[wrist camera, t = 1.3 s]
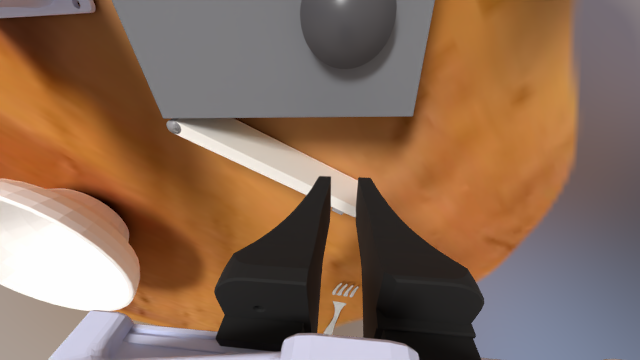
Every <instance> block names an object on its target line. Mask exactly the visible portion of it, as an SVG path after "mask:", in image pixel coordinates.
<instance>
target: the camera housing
mask: <svg viewBox="0 0 640 360" xmlns="http://www.w3.org/2000/svg"><path fill="white" fill-rule="evenodd" d="M112 2H113V4H114V7H115V9H116V11H117V14H118V16H119V18H120V20H121V23H122V25H123V27H124V30H125V32H126V34H127V37H128V39H129V41H130V43H131V46H132V48H133V50H134V53H135V55H136V57H137V59H138V62H139V64H140V66H141V69H142V71H143V73H144V76H145V78H146V80H147V82H148V85H149V87H150V89H151V92H152V94H153V96H154V98H155V101H156V103H157V105H158V108H159V110H160V112H161V114H162V117H163V118H273V117H391V116H413V113H414V107H415V102H416V97H417V91H418V86H419V81H420V76H421V70H422V65H423V60H424V54H425V49H426V44H427V39H428V33H429V28H430V23H431V17H432V12H433V7H434V2H435V0H112Z"/></svg>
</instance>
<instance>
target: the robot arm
mask: <svg viewBox="0 0 640 360" xmlns="http://www.w3.org/2000/svg"><path fill="white" fill-rule="evenodd" d="M78 2H79V3H80V6H81V7H80V6H79V5H78ZM93 12H95V4H94V2H93V0H0V18H13V17H30V16H47V15H64V14H81V13H93ZM330 209H331V176H319V177H318V178H317V180H316V182H315V184H314V185H313V187H312V188H311V190H310V191H309V193H308V194H307V195H306V197H305V198H304V199H303V201H302V202H301V203H300V204H299V205H298V206H297V208H296V209H295V210H294V211H293V212H292V213H291V214H290V215H289V216H288V217H287V218H286V219H285V220H284V221H282V222H281V223H280V224H279V225H278V226H277V227H275V228H274V229H273V230H272V231H270V232H269V233H267V234H266V235H264V236H263V237H262V238H260V239H259V240H257V241H255V242H254V243H252V244H250V245H249V246H247V247H245V248H243V249H241V250H240V251H238V252H236V253H234V254H233V256H232V257H231V259H230V260H229V262H228V263H227V265H226V267H225V268H224V270H223V272H222V274H221V276H220V278H219V281H218V283H217V285H216V287H215V291H214V292H215V296H216V298H217V300H218V302H219V304H220V306H221V308H222V310H223V312H224V314H225V316H224V318H223V321H222V323H221V326H220V328H219V331H218V332H214V331H204V330H194V329H183V328H173V327H163V326H153V325H142V324H134V323H133V321H132V320H131V318H130V317H128V316H127V315H125V314H123V313H119V312H112V311H101V310H92V311H90V312H89V313H88V314H87V316H86V317H85V318H84V319H83V320H82V321H81V322H80V324H79V325H78V326H77V327H76V328H75V329H74V330H73V332H72V333H71V334H70V335H69V336H68V337H67V339H65V341H64V342H63V343H62V344H61V345H60V346H59V348H58V349H57V350H56V351H55V352H54V353H53V354H52V356H51V357H50V358H49V359H48V360H498V359H487V358H480V355H479V353H478V350H477V348H476V345H475V343H474V340H473V338H475V337H476V336H475V332H474V329H473V327H472V324H471V323H472V322H473V320H474V319H475V318H476V316H477V315H478V314H479V312H480V311H481V309H482V307H483V305H484V298H483V296H482V294H481V292H480V290H479V287H478V285H477V284H476V282H475V280H474V278H473V277H472V275H471V274H470V272H469V270H468V269H467V268H465V267H464V266H462V265H460V264H459V263H457V262H455V261H454V260H452V259H451V258H449V257H447V256H446V255H444V254H443V253H441V252H440V251H438V250H437V249H435V248H434V247H433V246H431V245H430V244H428V243H427V242H426V241H425V240H423V239H422V238H421V237H420V236H418V235H417V234H416V233H415V232H414V231H412V230H411V229H410V228H409V227H408V226H407V225H406V224H405V223H404V222H403V221H402V220H401V219H400V218H399V217H398V216H397V215H396V213H395V212H394V211H393V210H392V209H391V207H390V206H389V205H388V204H387V202H386V201H385V199H384V198H383V197H382V195H381V194H380V192H379V191H378V189H377V188H376V186H375V184H374V183H373V181H372V179H371V178H358V187H357V198H356V227H357V235H358V242H359V249H360V256H361V266H362V292H363V334H364V336H363V337H364V338H360V337H350V336H339V335H329V334H318V333H317V327H318V313H319V300H320V287H321V274H322V263H323V256H324V251H325V245H326V239H327V234H328V228H329V223H330ZM605 360H620V359H605Z"/></svg>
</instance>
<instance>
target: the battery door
mask: <svg viewBox="0 0 640 360" xmlns="http://www.w3.org/2000/svg"><path fill="white" fill-rule="evenodd" d="M167 128H168V129H169V131H170V132H172V133H174V134H176V135H178V136H180V137H183V138H185V139H187V140H189V141H191V142H193V143H195V144H198V145H200V146H202V147H204V148H206V149H208V150H211V151H213V152H215V153H217V154H219V155H221V156H223V157H226V158H228V159H230V160H232V161H234V162H236V163H239V164H241V165H243V166H245V167H247V168H249V169H251V170H254V171H256V172H258V173H260V174H262V175H264V176H267V177H269V178H271V179H273V180H275V181H277V182H280V183H282V184H284V185H286V186H288V187H290V188H292V189H295V190H297V191H299V192H301V193H303V194H305V195H307V194H308V193H309V191H310V190H311V188H312V187H313V185H314V184H315V182H316V180H317V178H318V177H319V176H331V207H332V211H334V212H336V213H338V214H341V215H342V214H343V213H346V214H348V215H351V216H353V217H356V198H357V187H358V180H356V179H354V178H352V177H350V176H348V175H346V174H344V173H342V172H340V171H338V170H336V169H334V168H332V167H330V166H328V165H326V164H324V163H322V162H320V161H318V160H316V159H314V158H312V157H310V156H308V155H306V154H304V153H302V152H300V151H298V150H296V149H294V148H292V147H290V146H288V145H286V144H284V143H282V142H280V141H278V140H276V139H274V138H272V137H270V136H268V135H266V134H264V133H262V132H260V131H258V130H256V129H254V128H252V127H250V126H248V125H246V124H244V123H242V122H240V121H238V120H236V119H234V118H172V119H171V120H169V121H168V122H167Z"/></svg>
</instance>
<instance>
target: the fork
mask: <svg viewBox="0 0 640 360" xmlns="http://www.w3.org/2000/svg"><path fill="white" fill-rule="evenodd" d="M341 285H342V283H340V284H339V285H338V286H337V287H336V288H335V289H334V290H333V292H332V294H333V295H335V294H336V291H337V289H338V288H339V287H340V286H341ZM347 285H348V284H346V285H344V286H343V287H342V289H341V290H340V291H339V293H338V294H337V295H342V292H343V290H344V289H345V288H346V286H347ZM352 287H353V285H352V286H350V287H349V288H348V289H347V291H346V292H345V294H344V295H343V296H348V292H349V291H350V290H351V288H352ZM358 288H359V287H358V286H357V287H356V288H355V289H354V290H353V291H352V293H351V295H350V297H353V295H354V293H355V292H356V290H357V289H358ZM333 303H334V306H335V314H334V317H333V319H332V321H331V323H330V324H329V325H328V327H327V328H326V330H325V331H324V334H329V335H332V333H333V329H334V326H335V323H336V321H337V318H338V316H339V313H340V311H341V309H342V308H343V306H344V305H346V303H341V302H335V301H333Z"/></svg>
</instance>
